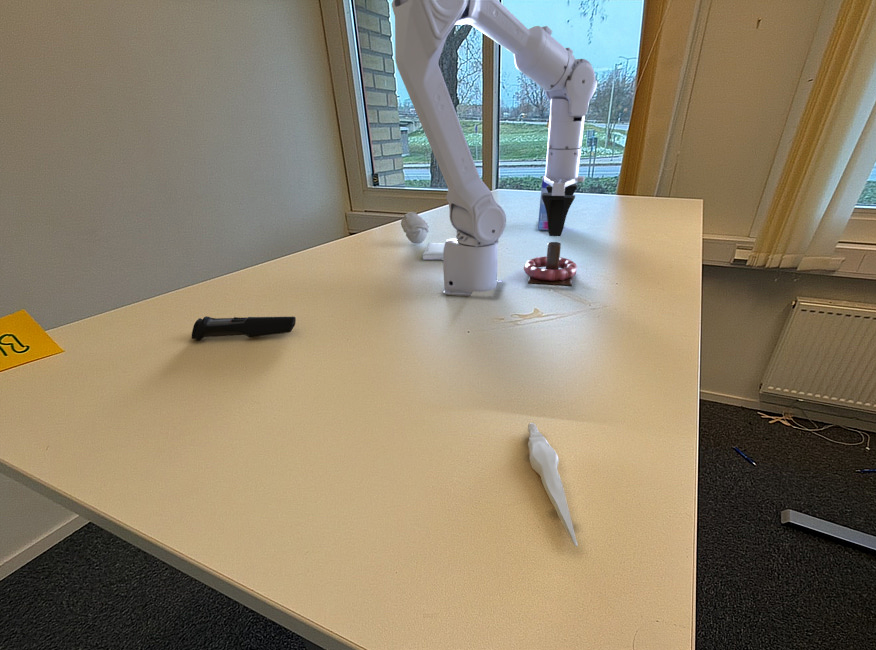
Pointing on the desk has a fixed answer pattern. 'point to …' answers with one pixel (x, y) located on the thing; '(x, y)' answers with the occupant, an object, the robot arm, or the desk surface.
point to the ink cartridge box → (543, 209)
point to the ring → (564, 273)
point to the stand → (552, 266)
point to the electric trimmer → (242, 326)
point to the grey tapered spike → (550, 476)
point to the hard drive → (434, 251)
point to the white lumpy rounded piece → (414, 227)
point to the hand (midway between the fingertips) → (556, 230)
